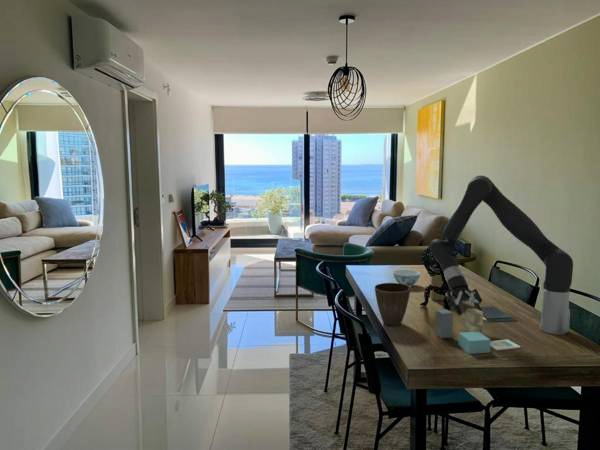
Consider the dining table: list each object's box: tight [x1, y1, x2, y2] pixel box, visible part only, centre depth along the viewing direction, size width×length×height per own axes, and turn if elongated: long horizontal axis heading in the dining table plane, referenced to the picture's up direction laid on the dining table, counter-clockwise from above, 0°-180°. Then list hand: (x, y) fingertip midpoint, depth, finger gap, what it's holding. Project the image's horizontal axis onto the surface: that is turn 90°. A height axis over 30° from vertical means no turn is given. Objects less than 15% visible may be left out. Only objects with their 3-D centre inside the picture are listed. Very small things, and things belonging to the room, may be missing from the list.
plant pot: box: [374, 282, 411, 327], centre depth 186 cm, size 15×15×16 cm
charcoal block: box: [435, 309, 454, 339], centre depth 172 cm, size 4×4×10 cm
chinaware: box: [392, 269, 421, 288], centre depth 247 cm, size 15×15×8 cm
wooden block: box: [430, 275, 444, 302], centre depth 222 cm, size 10×10×20 cm
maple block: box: [464, 309, 484, 334], centre depth 173 cm, size 4×4×10 cm
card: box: [490, 339, 521, 351], centre depth 163 cm, size 10×7×1 cm
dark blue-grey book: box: [465, 305, 518, 323], centre depth 198 cm, size 20×2×15 cm
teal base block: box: [457, 331, 492, 355], centre depth 160 cm, size 8×8×5 cm
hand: (470, 313), depth 175 cm, fingers open, 8 cm apart
